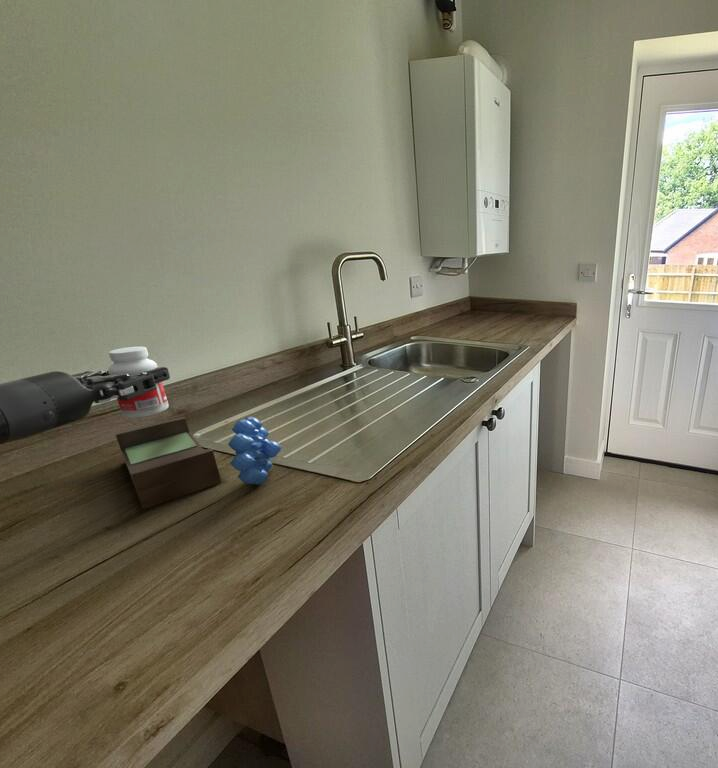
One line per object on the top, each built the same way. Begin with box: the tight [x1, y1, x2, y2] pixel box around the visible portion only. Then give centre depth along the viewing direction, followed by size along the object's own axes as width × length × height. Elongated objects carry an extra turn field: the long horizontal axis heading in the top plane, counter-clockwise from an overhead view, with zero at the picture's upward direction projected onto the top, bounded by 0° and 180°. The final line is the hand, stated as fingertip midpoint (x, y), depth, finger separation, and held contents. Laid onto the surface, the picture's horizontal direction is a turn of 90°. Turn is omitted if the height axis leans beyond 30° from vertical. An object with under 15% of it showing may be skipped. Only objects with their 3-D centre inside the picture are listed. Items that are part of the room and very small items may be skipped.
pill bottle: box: [107, 346, 169, 419], centre depth 69 cm, size 6×6×11 cm
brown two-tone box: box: [114, 416, 222, 510], centre depth 70 cm, size 10×21×6 cm, turn 48°
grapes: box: [227, 416, 283, 486], centre depth 66 cm, size 12×7×12 cm, turn 16°
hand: (149, 372), depth 71 cm, fingers closed on pill bottle, 6 cm apart
